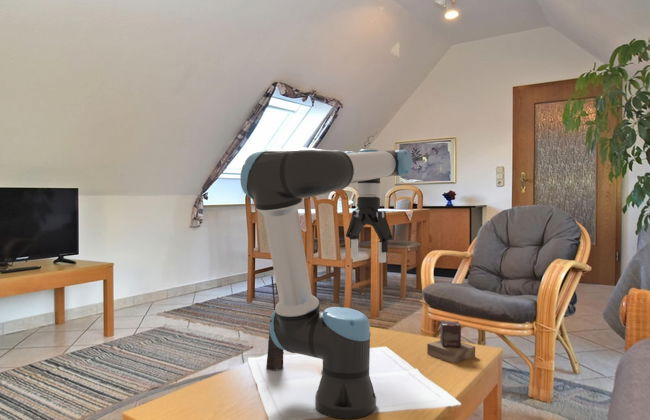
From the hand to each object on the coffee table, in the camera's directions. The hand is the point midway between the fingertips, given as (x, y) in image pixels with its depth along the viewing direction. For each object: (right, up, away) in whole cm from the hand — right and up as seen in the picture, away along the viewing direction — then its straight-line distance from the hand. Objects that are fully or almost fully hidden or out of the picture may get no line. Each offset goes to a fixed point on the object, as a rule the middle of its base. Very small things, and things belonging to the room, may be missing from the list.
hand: (367, 260), depth 151 cm
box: (+28, -29, +2) cm, 40 cm away
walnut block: (+28, -33, +1) cm, 43 cm away
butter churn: (-28, -32, -12) cm, 44 cm away
